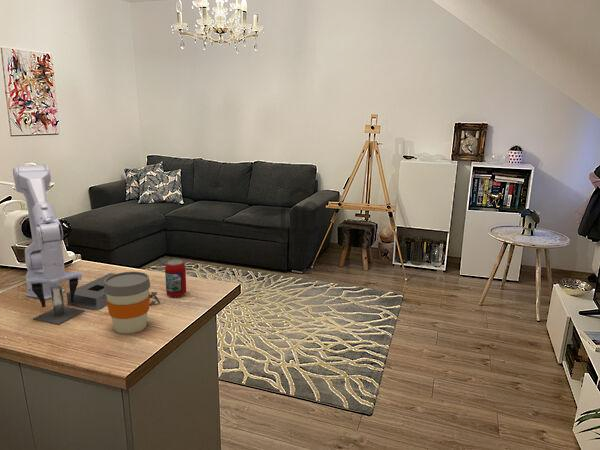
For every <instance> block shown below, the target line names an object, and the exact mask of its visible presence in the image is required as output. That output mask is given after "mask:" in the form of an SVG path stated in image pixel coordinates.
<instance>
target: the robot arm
mask: <svg viewBox="0 0 600 450" xmlns="http://www.w3.org/2000/svg"><path fill="white" fill-rule="evenodd" d="M12 174H13V175H12V176H13V181H14V187H15V189H16V192H18V193H20V194H23V196H24V198H25V202H26V206H27V208H26V209H27V212H28V221H29V226H30V232H31V239H32V242H31V243H30V244H28V245H27V246H26V247H25V249H24V260H25V266H26V269H27V272H26V274H25V283H26V291H27V293H26V294H25V296H26V297H32V298H35V299H36V298H37V299H38V300H39V301H40V304H41V307H42V308H46V300H49V299H52V296H51V288H50V286H51V285H53V284H59V282H68V285H69V286H68V287H69V292H70V295H71V303H73V299H74V294H75V290H76V288H78V286H79V285H78V284H79V280H83V275H82V271H75V272H74V271H70V272H68V271H67V272H66V268H65V262H64V261H65V260H64V253H63V243H62V241H64V231H63V227H62V224H61V222H60V221H59V219H57V215H56V212H55V209H54V206H53V205H52V204H51V203H49V202H48V197H47V192H46V191H47V190H48V189H49V187H50V185H51V184H50V183H51V180H52V179H51V171H50V168H49V166H48V165H47V164H43V165H25V166H17V165H15V166H14V167H12ZM65 292H66V289H63V288H62V293H65Z"/></svg>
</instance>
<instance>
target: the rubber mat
mask: <svg viewBox="0 0 600 450" xmlns="http://www.w3.org/2000/svg"><path fill="white" fill-rule="evenodd" d="M64 310H65V314H64V315H62V316H54V312H53V308H51V309H49V310H47V311H45V312H43V313H41V314H39V315H37V316H35V317H33V318H32V319H33V320H34V321H39V322H43V323H48V324H52V325H57V326H60V325H61V324H64V323H65V322H67V321H70V320H72V319H73V318H76V316H79V315H81V314H83V313H84V312H86V310H84V309H81V308H80V309H79V308H77V307H76V308H75V307H70V306H65V305H64Z"/></svg>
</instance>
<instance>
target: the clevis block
mask: <svg viewBox="0 0 600 450" xmlns="http://www.w3.org/2000/svg"><path fill="white" fill-rule="evenodd" d="M114 274H115V273H112V272H110V273H107V274H105V275H103V276H101V277H99V278H97V279H94V280H93V281H90V282H88V283H86V284H85V283H84V284H83V285H81V286H78V287H76V290H75V294H74V299H73V303H71V295H70V291H68V292H66V294H65V295H66V301H67V305H68V306H69V305H70V306H73V307H78V308H79V307H80V308H84V309H89V310H94V311H99V310H101V309H102V308H104V307H106V306H107V303H106V298H107V296H106V293H105V292H104V281H105V279H106V278H107V277H109V276H111V275H114Z"/></svg>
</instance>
